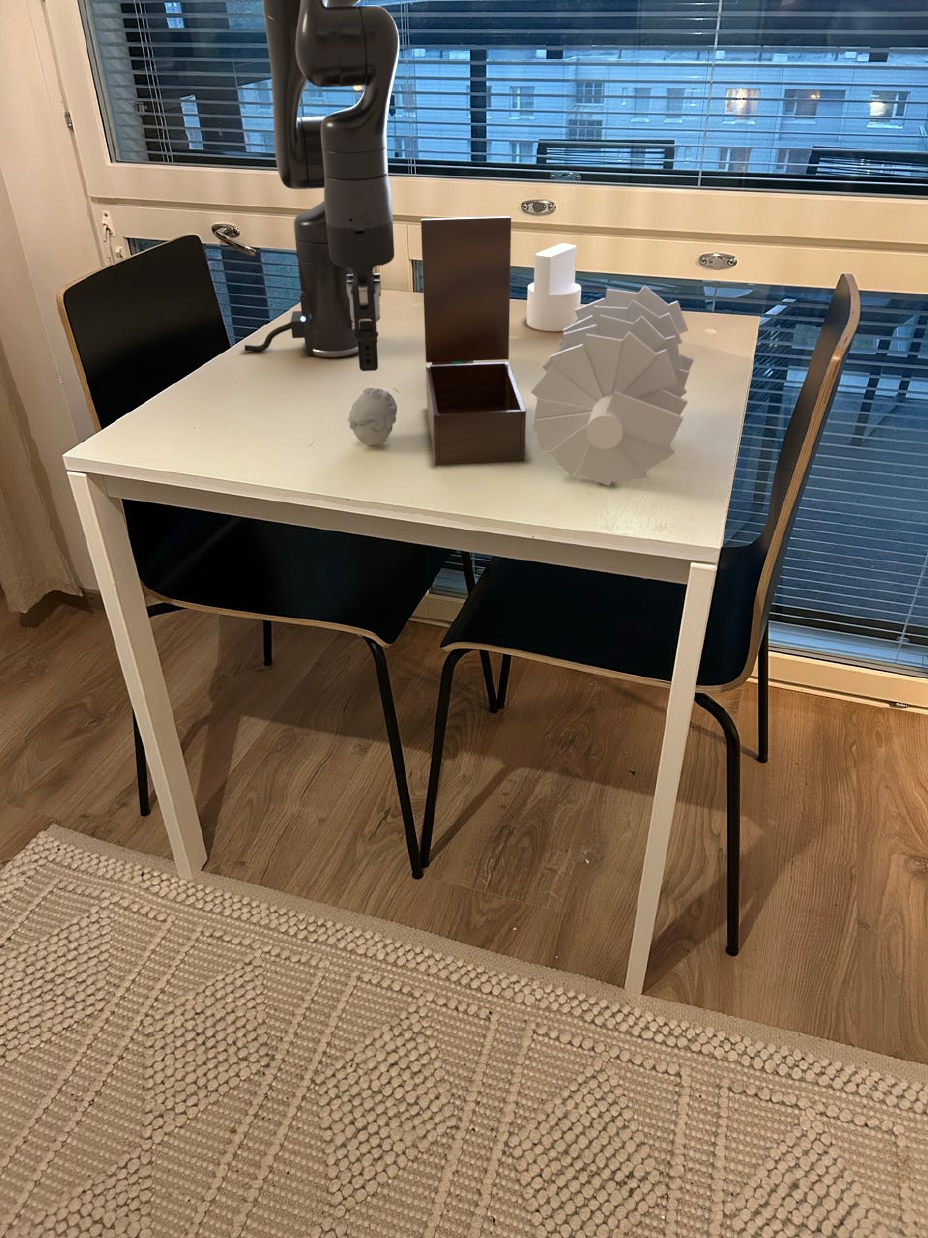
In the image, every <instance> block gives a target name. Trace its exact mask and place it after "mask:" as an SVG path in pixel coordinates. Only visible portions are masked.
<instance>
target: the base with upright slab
mask: <svg viewBox="0 0 928 1238" xmlns="http://www.w3.org/2000/svg"><path fill="white" fill-rule="evenodd" d="M577 251H578V245H575V244H570V243H559V244H557V245H555V246H552V247H549V248H547V249H544V250H542V251H539V252H537V253H534V266H533V267H534V269H533V282H531V283H530V284H528V286H527V300H526V301H527V302H526V324H527V326H528V327H530V328H532V329H534V330H539V331H545V332H563V329H565V328H567V327H569V326H571V325H573V324H574V322H575V321H576V320H577V319H578V318H577V315H576V313H575V309H577V308H580V307H581V300H582V299H581V298H582V286H581V285H580V284H578V283H576V269H577Z"/></svg>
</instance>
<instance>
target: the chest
mask: <svg viewBox="0 0 928 1238" xmlns="http://www.w3.org/2000/svg"><path fill="white" fill-rule="evenodd" d="M425 377H426V405H427V406H426V407H427V408H426V409H427V418H428V424H429V425H428V426H429V432H430V433H429V434H430V440H431V446H432V447H431V448H432V453H433V462H434V466H455V465H476V464H495V463H496V464H497V463H518V462H519V463H520V462H525V458H526V457H525V456H526V430H527V429H526V425H527V424H526V423H527V411H526V408H525V404H524V402H523V400H522V397H521V394H520V391H519V388H518V386H517V383H516V379H515V376H514V374H513V371H512V368H511V366H510V363H509V361H501V362H500V361H499V362H476V363H475V362H473V363H471V364H446V365H432V364H427V365H425Z"/></svg>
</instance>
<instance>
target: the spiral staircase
mask: <svg viewBox="0 0 928 1238" xmlns="http://www.w3.org/2000/svg"><path fill="white" fill-rule="evenodd" d="M682 311H683V310H682V308H681V306H680V303H679V301H678V300H676V301H673V302H670V303H667V302H666V301H665V300H664V299H663V298H661V296H660V295H658V294H656V292H654V291H653V290H652V289H650V288H649V287H648V286H647V285H643V286H642V288H641V289H640V290H639V292H635V291H627V290H621V289H614V288H606V292H605V297H603V298H600V299H598V300H594V301H593V302H589V303H587V304H585V305H582V306H580V308H577V309H575V313H576V315H577V318H578V319H577V320H576V321H575V322H574V324H573V325H571V326H569V327H567V328H565V329H563V331H562V332H563V334H562V335H563V337H561V339H560V340H559V342H558V344H559V345H560V348H558V350H557V351H556V352H555V353H553V354H550V355H549V360H548V361H546V363H544V365H543V366H542V369H543V370H544V371H545V372H546V373H545V374H544V375H543V376H542V378H540V380H539V381H538V382H537V384H536V385H535V386H534V387H533V388H532V389H531V391H530V393H531V394H532V395H534V396H535V397H536V406H535V411H534V412H535V413H534V420H533V426H532V431H533V432H536V433H537V439H538V443H539V447H540V448H539V449H540V452H548V453H549V455H550V456H551V457H552V458H553V459H554V460H555V461H556V463H558V464H559V465H560V467H561V468H562V469H563V470H564V472H566V473H567V475H568V476H569V477H570V478H571V477H573V476H575V475H576V474H577V475H579V476H581V477H584V478H587V479H590V480H592V481H595V482H598V483H599V484H603V485H605V486H608V487H610V485H611V483H612V482H613V483H614V482H624V481H635V480H644V479H648V476H649V475H648V472H649V471H650V470H652V469H653V468H655V467H656V466H658V465H659V464H661V463H662V462H664V461H665V460H667V459H668V458H670V457H671V456H673V455H675V450H674V449H673V448H672V446H671V445H672V442H673V440H674V439H675V437H676V436H677V432H678V430H679V428H680V427H681V424H682V422H683V420H684V416H683V415H682V413H683V411H684V409H685V408H686V406H687V404H688V402H689V400H687V399H686V398H683V396H684V395H686V394H687V393H688V390H687V389H686V388H685V387H686V384H687V381H688V379H689V375H690V370H691V367H692V366H693V363H694V362H695V361H694V360H695V358H694V357H691V356H688V355H685V354H682V353H680V349H679V345H680V344H683V339H682V338H681V334H683V333H686V332H688V331H689V328H688V325H687V323H686V320H685V318H684V317H685V316H684V314H683V312H682Z"/></svg>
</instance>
